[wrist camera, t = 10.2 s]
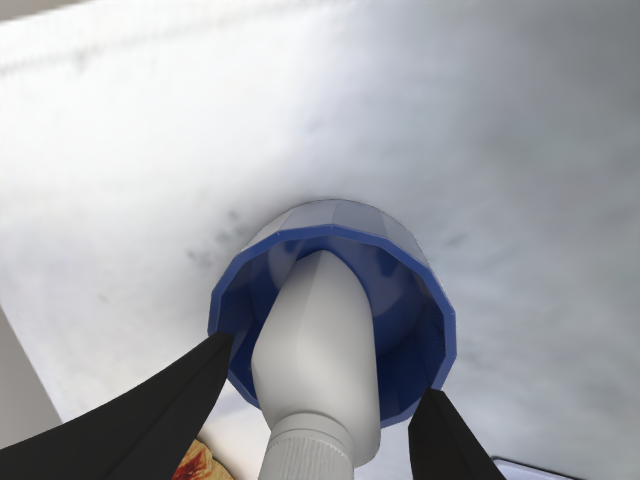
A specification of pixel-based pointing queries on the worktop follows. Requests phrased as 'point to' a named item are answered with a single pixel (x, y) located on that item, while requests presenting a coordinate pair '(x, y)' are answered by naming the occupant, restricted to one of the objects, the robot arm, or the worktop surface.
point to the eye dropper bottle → (318, 374)
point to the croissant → (200, 465)
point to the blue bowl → (379, 285)
